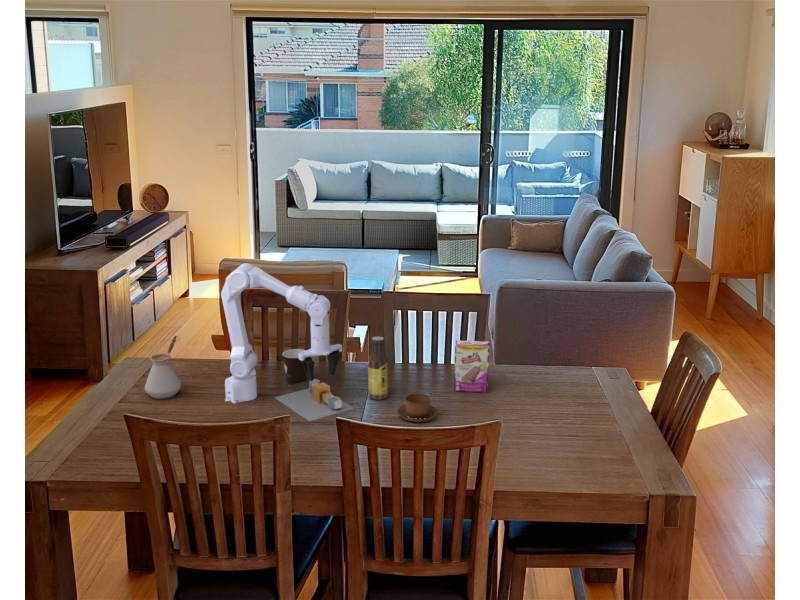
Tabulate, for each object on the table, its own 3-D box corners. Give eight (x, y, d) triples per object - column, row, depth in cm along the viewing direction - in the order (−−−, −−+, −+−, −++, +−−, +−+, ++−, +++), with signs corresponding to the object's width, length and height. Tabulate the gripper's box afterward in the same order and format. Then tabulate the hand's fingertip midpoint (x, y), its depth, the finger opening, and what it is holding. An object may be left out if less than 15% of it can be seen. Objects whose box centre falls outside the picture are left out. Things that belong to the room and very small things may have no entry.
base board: (309, 425, 262) (309, 421, 261) (274, 401, 279) (274, 397, 278) (354, 412, 271) (354, 408, 270) (317, 390, 288) (317, 386, 287)
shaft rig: (334, 412, 267) (334, 401, 266) (301, 391, 283) (300, 381, 282) (349, 408, 270) (349, 397, 269) (316, 387, 286) (316, 377, 285)
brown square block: (312, 399, 276) (312, 385, 275) (323, 396, 279) (323, 382, 277) (319, 403, 273) (319, 389, 272) (330, 400, 276) (330, 386, 274)
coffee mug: (307, 386, 291) (306, 358, 288) (281, 386, 291) (280, 358, 288) (311, 373, 302) (311, 346, 299) (286, 373, 302) (285, 345, 299)
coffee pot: (174, 402, 278) (171, 357, 274) (139, 400, 280) (135, 356, 275) (196, 377, 299) (193, 335, 294) (163, 375, 300) (159, 334, 296)
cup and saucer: (392, 412, 272) (392, 393, 270) (428, 406, 276) (428, 388, 274) (406, 427, 261) (406, 408, 259) (443, 421, 265) (443, 402, 263)
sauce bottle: (385, 401, 279) (385, 342, 273) (366, 400, 280) (365, 341, 274) (389, 393, 285) (389, 335, 279) (371, 392, 286) (370, 334, 280)
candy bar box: (453, 392, 286) (454, 344, 282) (454, 386, 291) (455, 339, 286) (488, 393, 285) (489, 346, 281) (488, 387, 290) (489, 340, 285)
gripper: (306, 344, 263) (307, 386, 267) (347, 334, 271) (347, 375, 275) (294, 337, 268) (295, 379, 272) (335, 328, 276) (335, 369, 280)
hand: (321, 377), depth 274 cm, fingers open, 7 cm apart
